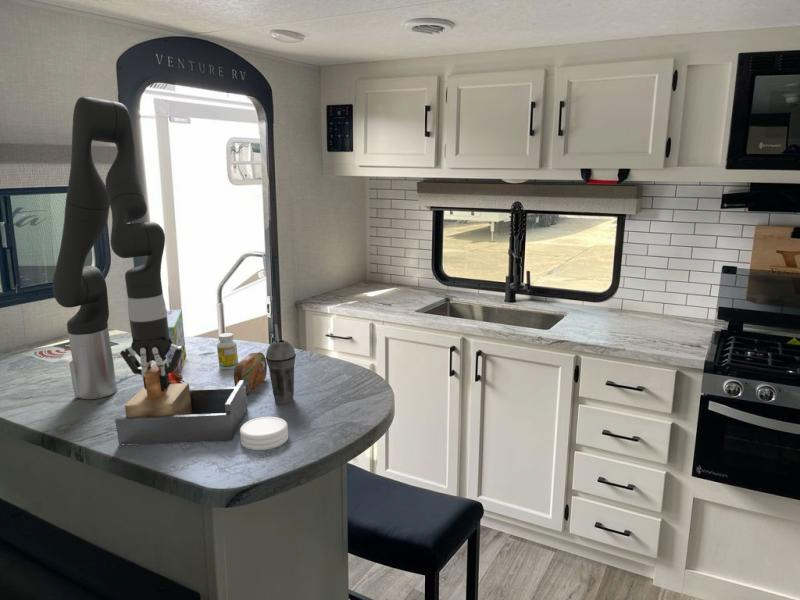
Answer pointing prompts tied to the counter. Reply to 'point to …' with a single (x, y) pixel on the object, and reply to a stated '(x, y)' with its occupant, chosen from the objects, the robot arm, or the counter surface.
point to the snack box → (176, 335)
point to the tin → (251, 371)
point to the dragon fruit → (175, 377)
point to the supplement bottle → (227, 351)
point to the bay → (190, 419)
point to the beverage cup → (281, 369)
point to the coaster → (264, 433)
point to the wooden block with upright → (159, 398)
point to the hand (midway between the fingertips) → (157, 390)
